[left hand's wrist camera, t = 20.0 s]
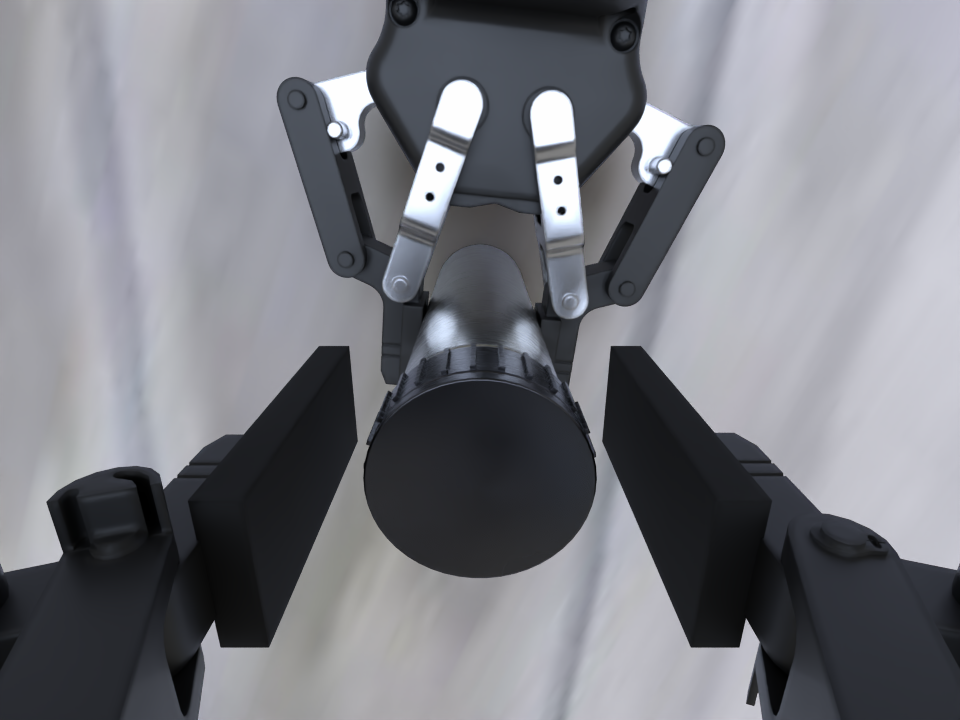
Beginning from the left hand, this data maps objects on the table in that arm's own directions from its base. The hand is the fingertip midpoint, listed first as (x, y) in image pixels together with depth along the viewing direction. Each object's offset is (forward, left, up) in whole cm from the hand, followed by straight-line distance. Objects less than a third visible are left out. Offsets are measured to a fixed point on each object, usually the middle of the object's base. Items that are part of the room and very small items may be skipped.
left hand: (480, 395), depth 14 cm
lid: (0, 0, +4) cm, 4 cm away
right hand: (0, -3, -6) cm, 6 cm away
